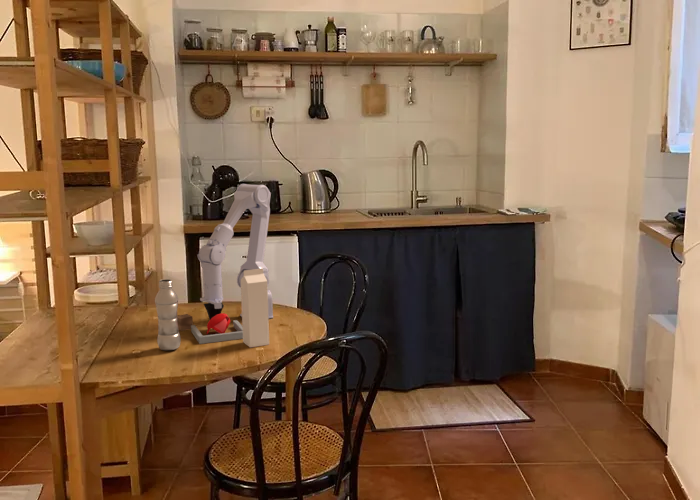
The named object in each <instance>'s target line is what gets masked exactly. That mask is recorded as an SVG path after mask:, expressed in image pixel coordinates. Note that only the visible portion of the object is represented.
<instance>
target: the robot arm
mask: <svg viewBox="0 0 700 500" xmlns="http://www.w3.org/2000/svg"><path fill="white" fill-rule="evenodd" d="M271 194H272V192H270V189H269V188H268V187H267V186H266V185H264V184H248V183H240V184H238V186H237V189H236V191H235V192H234V193H233V199H234V200H233V201H232V204H231V207H229V210H228V212H227V214H226V216H225V218H224V220H223V222H222V223H219V224H217V226H215V227H214V228H213V232H212V234H211V236H210V237H209V239H208V241H207V242H206V244H205V245H204V244H203V245H202V246H201V248H200V249H199V251H198V254H196V255H197V259H198V261H199V262H200V267H201V268H202V269H201V270H202V283H203V297H200V298H199V300H200V302H206V303H204V304H203V307H204V308H205V310H206V312H207V315H208V321H209V320H210V319H211V318H212V317H214V316H215V315H217V314H220V313H222V312H223V309H224V307H225V306H224V305H225V304H223V301H224V295H223V277H222V263H224V261H225V258H226V252H227V247H228V245H229V243H230V241H231V240H232V238H233V237H234V233H235V232H234V227H235V226H236V224H238V221H239V220H240V218H241V217H242V215H243V214H244V212H245V211H246V210H249V211H250V212H251V214H252V217H251V226H250V231H249V232H250V233H249V241H248V247H247V255H246V261H244V263H242V265H241V266H240V271H239V273H238V275H237V278H236V283H237V286H238V287H239V288H240V289H241V279H242V277H243V276H244V270H253V269H263V274H264V276H265V278H266V280H267V288H268V287H269V286H270V277H269V273H270V272H269V271H270V270H269V268H268V267H267V266H266V264H265V263H264V260H265V253H266V252H265V251H266V246H267V245H266V244H267V238H268V230H269V223H270V222H269V221H270V214H271V208H270V203H271ZM273 306H274V305H273V295H272V292H271V290H270V289H268V319H273V318H274V312H273V310H274V309H273ZM239 316H240V317H241V318H242V313H240V314H239Z"/></svg>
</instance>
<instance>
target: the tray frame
mask: <svg viewBox="0 0 700 500" xmlns="http://www.w3.org/2000/svg"><path fill="white" fill-rule="evenodd" d="M232 325H233V326H232V327H233V328H234V329H235V330H236V331H231V332H230V331H229V332H225V333H222V334H221V333H215V334H206V335H203V334H202V333H201V331H200V330H199V329H198V327H197V325H195V324H193V325H191V329H190V332H191V333H192V334H193V337H194V338H195V340H196V341H197V342H198V344H199V345H203V344H211V343H218V342H227V341H233V340H234V341H235V340H243V327H242V323H241V322H239V321H238V320H237V319H235V320H232Z"/></svg>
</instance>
